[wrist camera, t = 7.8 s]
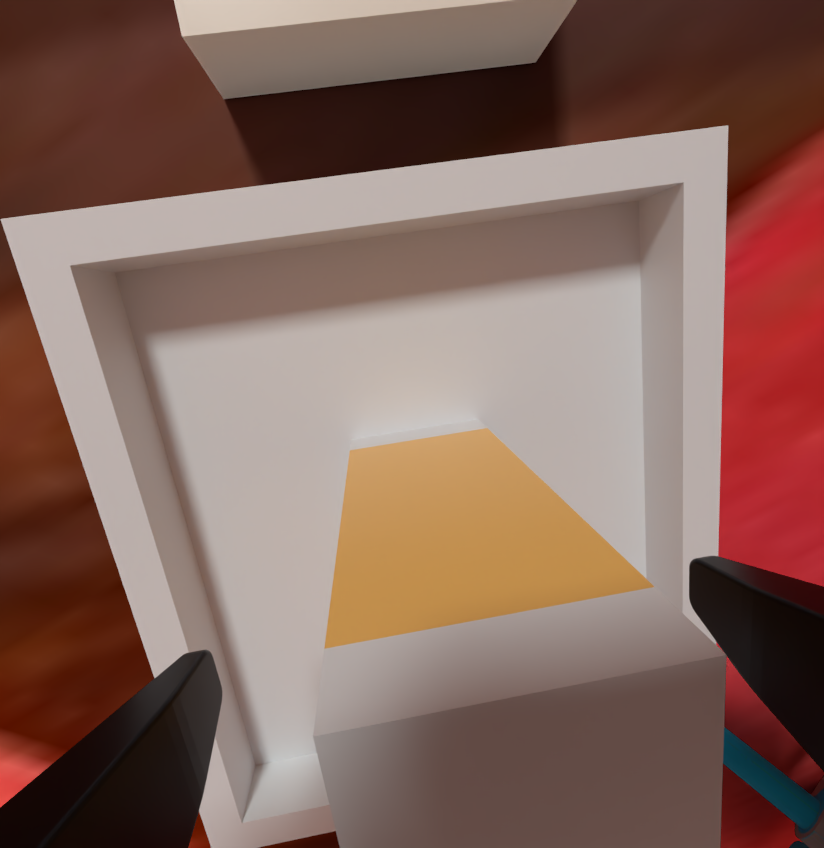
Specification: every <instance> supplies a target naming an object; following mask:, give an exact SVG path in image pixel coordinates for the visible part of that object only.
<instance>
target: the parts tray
mask: <svg viewBox="0 0 824 848" xmlns="http://www.w3.org/2000/svg"><path fill="white" fill-rule="evenodd" d="M727 158H728V125H727V126H720V127H712V128H704V129H696V130H689V131H681V132H673V133H665V134H657V135H650V136H642V137H634V138H626V139H619V140H611V141H603V142H595V143H588V144H580V145H572V146H564V147H556V148H549V149H541V150H533V151H525V152H518V153H510V154H502V155H494V156H487V157H479V158H471V159H463V160H455V161H448V162H440V163H432V164H424V165H417V166H409V167H401V168H393V169H385V170H378V171H370V172H362V173H354V174H347V175H339V176H331V177H323V178H316V179H308V180H300V181H292V182H284V183H277V184H269V185H261V186H253V187H246V188H238V189H230V190H222V191H214V192H207V193H199V194H191V195H183V196H176V197H168V198H160V199H152V200H145V201H137V202H129V203H121V204H113V205H106V206H98V207H90V208H82V209H75V210H67V211H59V212H51V213H43V214H36V215H28V216H20V217H12V218H5V219H1V222H2V225H3V228H4V231H5V234H6V237H7V240H8V243H9V246H10V249H11V252H12V255H13V258H14V261H15V264H16V267H17V270H18V273H19V276H20V278H21V281H22V284H23V287H24V290H25V293H26V296H27V299H28V302H29V305H30V308H31V311H32V314H33V317H34V320H35V323H36V326H37V329H38V332H39V335H40V338H41V341H42V344H43V347H44V350H45V353H46V356H47V359H48V362H49V365H50V368H51V371H52V374H53V377H54V380H55V383H56V386H57V389H58V392H59V395H60V398H61V401H62V404H63V407H64V410H65V413H66V416H67V419H68V422H69V425H70V428H71V431H72V434H73V437H74V440H75V442H76V445H77V448H78V451H79V454H80V457H81V460H82V463H83V466H84V469H85V472H86V475H87V478H88V481H89V484H90V487H91V490H92V493H93V496H94V499H95V502H96V505H97V508H98V511H99V514H100V517H101V520H102V523H103V526H104V529H105V532H106V535H107V538H108V541H109V544H110V547H111V550H112V553H113V556H114V559H115V562H116V565H117V568H118V571H119V574H120V577H121V580H122V583H123V586H124V589H125V592H126V595H127V598H128V601H129V603H130V606H131V609H132V612H133V615H134V618H135V621H136V624H137V627H138V630H139V633H140V636H141V639H142V642H143V645H144V648H145V651H146V654H147V657H148V660H149V663H150V666H151V669H152V672H153V675H154V678H156V677H157V676H158V675H159V674H161V673H162V672H163V671H164V670H165V669H167V668H168V667H169V666H170V665H171V664H173V663H174V662H175V661H176V660H177V659H179V658H180V657H181V656H182V655H183V654H185V653H189V652H194V651H199V650H205V649H206V650H209V651H210V652H211V653H212V655H213V658H214V662H215V665H216V668H217V672H218V675H219V679H220V682H221V686H222V704H221V709H220V714H219V719H218V724H217V729H216V734H215V740H214V745H213V750H212V755H211V760H210V765H209V770H208V775H207V780H206V785H205V789H204V794H203V798H202V801H201V805H200V809H199V812H200V815H201V818H202V821H203V824H204V827H205V830H206V833H207V836H208V839H209V842H210V845H211V848H258V847H262V846H267V845H272V844H277V843H281V842H286V841H291V840H296V839H300V838H305V837H310V836H314V835H319V834H324V833H329V832H333V831H336V830H335V826H334V821H333V817H332V813H331V809H330V805H329V801H328V797H327V792H326V788H325V784H324V780H323V776H322V772H321V768H320V763H319V759H318V755H317V751H316V747H315V743H314V739H313V733H314V725H315V718H316V710H317V702H318V694H319V686H320V679H321V671H322V663H323V655H324V647H325V640H326V632H327V624H328V616H329V608H330V601H331V593H332V585H333V577H334V569H335V562H336V554H337V546H338V538H339V530H340V523H341V515H342V507H343V499H344V491H345V484H346V476H347V468H348V460H349V452H350V445H351V440H352V439H358V438H365V437H371V436H377V435H383V434H389V433H396V432H402V431H408V430H414V429H420V428H427V427H433V426H439V425H445V424H452V423H458V422H464V421H470V420H476V419H478V420H479V421H480V422H481V423H483V424H484V425H485V426H486V427H487V428H488V429H489V430H490V431H491V432H492V433H493V434H494V435H495V436H496V437H497V438H498V439H499V440H500V441H501V442H503V443H504V444H505V445H506V446H507V447H508V448H509V449H510V450H511V451H512V452H513V453H514V454H515V455H516V456H517V457H518V458H519V459H520V460H522V461H523V462H524V463H525V464H526V465H527V466H528V467H529V468H530V469H531V470H532V471H533V472H534V473H535V474H536V475H537V476H538V477H539V478H541V479H542V480H543V481H544V482H545V483H546V484H547V485H548V486H549V487H550V488H551V489H552V490H553V491H554V492H555V493H556V494H557V495H558V496H559V497H561V498H562V499H563V500H564V501H565V502H566V503H567V504H568V505H569V506H570V507H571V508H572V509H573V510H574V511H575V512H576V513H577V514H578V515H580V516H581V517H582V518H583V519H584V520H585V521H586V522H587V523H588V524H589V525H590V526H591V527H592V528H593V529H594V530H595V531H596V532H597V533H598V534H600V535H601V536H602V537H603V538H604V539H605V540H606V541H607V542H608V543H609V544H610V545H611V546H612V547H613V548H614V549H615V550H616V551H617V552H619V553H620V554H621V555H622V556H623V557H624V558H625V559H626V560H627V561H628V562H629V563H630V564H631V565H632V566H633V567H634V568H635V569H636V570H638V571H639V572H640V573H641V574H642V575H643V576H644V577H645V578H646V579H647V580H648V581H649V582H650V583H651V584H652V585H653V586H654V587H655V588H656V589H658V590H659V591H660V592H661V593H662V594H663V595H664V596H665V597H666V598H667V599H668V600H669V601H670V602H671V603H672V604H673V605H674V606H675V607H677V608H678V609H679V610H680V611H681V612H682V613H683V614H684V615H685V616H686V617H687V618H688V619H689V620H690V621H691V622H692V623H693V624H694V625H695V626H697V627H698V628H699V629H700V630H701V631H702V632H703V633H704V634H705V635H706V636H707V637H708V638H709V639H710V640H711V641H712V642H713V643H714V644H716V640H715V639H714V638H713V636H712V635H711V633H710V632H709V631H708V629H707V628H706V627H705V625H704V624H703V622H702V621H701V620H700V618H699V617H698V616H697V614H696V613H695V611H694V610H693V608H692V606H691V603H690V600H689V565H690V562H691V561H692V560H693V559H695V558H700V557H706V556H718V541H719V498H720V456H721V413H722V370H723V328H724V285H725V243H726V200H727Z"/></svg>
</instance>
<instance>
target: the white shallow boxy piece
mask: <svg viewBox="0 0 824 848" xmlns="http://www.w3.org/2000/svg"><path fill="white" fill-rule="evenodd" d="M576 1H577V0H174V3H175V7H176V12H177V16H178V21H179V25H180V30H181V34H182V37H183V39H184V40H185V42H186V43H187V45H188V46H189V48H190V49H191V51H192V52H193V54H194V55H195V57H196V58H197V60H198V61H199V63H200V64H201V66H202V67H203V69H204V70H205V72H206V73H207V75H208V76H209V78H210V79H211V81H212V82H213V84H214V85H215V87H216V88H217V90H218V91H219V93H220V94H221V96H222V97H223V99H230V98H238V97H247V96H255V95H264V94H272V93H281V92H289V91H298V90H307V89H315V88H324V87H332V86H341V85H349V84H358V83H366V82H375V81H383V80H392V79H400V78H409V77H417V76H426V75H434V74H443V73H451V72H460V71H468V70H477V69H486V68H494V67H503V66H511V65H520V64H528V63H536V61H537V60H538V58H539V57H540V55H541V54H542V52H543V51H544V49H545V48H546V46H547V45H548V43H549V42H550V40H551V39H552V37H553V36H554V34H555V33H556V31H557V30H558V28H559V27H560V25H561V24H562V22H563V21H564V19H565V18H566V16H567V15H568V13H569V12H570V10H571V9H572V7H573V6H574V4H575V3H576Z"/></svg>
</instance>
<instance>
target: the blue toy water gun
mask: <svg viewBox="0 0 824 848" xmlns="http://www.w3.org/2000/svg"><path fill="white" fill-rule="evenodd" d="M723 764H724V765H726V766H727V767H728V768H729V769H730V770H732V771H733V772H734V773H735V774H737V775H738V776H739V777H740V778H741V779H743V780H744V781H745V782H746V783H747V784H749V785H750V786H751V787H752V788H753V789H755V790H756V791H757V792H758V793H760V794H761V795H762V796H763V797H764V798H766V799H767V800H768V801H769V802H770V803H772V804H773V805H774V806H775V807H776V808H778V809H779V810H780V811H781V812H783V813H784V814H785V815H786V816H787V817H789V818H790V819H791V820H792V821H793V822H795V835H796V836H797V838H799V839H800V840H801V841H802V842H800V841H796V842H794V843H793V844H792V845H791V846H790V847H789V848H824V776H823V777H822V779H821V780H820V782H819V783H818V785H817V786H816V788H815V789H814V791H813V792H812V794H809V793H808V792H807V791H805V790H804V789H803V788H802V787H800V786H799V785H798V784H797V783H795V782H794V781H793V780H791V779H790V778H789V777H788V776H786V775H785V774H784V773H783V772H781V771H780V770H779V769H777V768H776V767H775V766H774V765H772V764H771V763H770V762H768V761H767V760H766V759H765V758H763V757H762V756H761V755H760V754H758V753H757V752H756V751H754V750H753V749H752V748H751V747H749V746H748V745H747V744H746V743H744V742H743V741H742V740H740V739H739V738H738V737H737V736H735V735H734V734H733V733H732V732H730V731H729V730H728V729H726V728H725V727H724V748H723Z"/></svg>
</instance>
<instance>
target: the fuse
mask: <svg viewBox="0 0 824 848" xmlns="http://www.w3.org/2000/svg"><path fill="white" fill-rule="evenodd" d="M725 685H726V654H725V653H724V652H723V651H722V650H721V649H720V648H719V647H718V646H717V645H716V644H714V643H713V642H712V641H711V640H710V639H709V638H708V637H707V636H706V635H705V634H704V633H703V632H702V631H701V630H700V629H699V628H698V627H697V626H695V625H694V624H693V623H692V622H691V621H690V620H689V619H688V618H687V617H686V616H685V615H684V614H683V613H682V612H681V611H680V610H679V609H678V608H677V607H675V606H674V605H673V604H672V603H671V602H670V601H669V600H668V599H667V598H666V597H665V596H664V595H663V594H662V593H661V592H660V591H659V590H658V589H656V588H655V587H654V586H653V585H652V584H651V583H650V582H649V581H648V580H647V579H646V578H645V577H644V576H643V575H642V574H641V573H640V572H639V571H638V570H636V569H635V568H634V567H633V566H632V565H631V564H630V563H629V562H628V561H627V560H626V559H625V558H624V557H623V556H622V555H621V554H620V553H619V552H617V551H616V550H615V549H614V548H613V547H612V546H611V545H610V544H609V543H608V542H607V541H606V540H605V539H604V538H603V537H602V536H601V535H600V534H598V533H597V532H596V531H595V530H594V529H593V528H592V527H591V526H590V525H589V524H588V523H587V522H586V521H585V520H584V519H583V518H582V517H581V516H580V515H578V514H577V513H576V512H575V511H574V510H573V509H572V508H571V507H570V506H569V505H568V504H567V503H566V502H565V501H564V500H563V499H562V498H561V497H559V496H558V495H557V494H556V493H555V492H554V491H553V490H552V489H551V488H550V487H549V486H548V485H547V484H546V483H545V482H544V481H543V480H542V479H541V478H539V477H538V476H537V475H536V474H535V473H534V472H533V471H532V470H531V469H530V468H529V467H528V466H527V465H526V464H525V463H524V462H523V461H522V460H520V459H519V458H518V457H517V456H516V455H515V454H514V453H513V452H512V451H511V450H510V449H509V448H508V447H507V446H506V445H505V444H504V443H503V442H501V441H500V440H499V439H498V438H497V437H496V436H495V435H494V434H493V433H492V432H491V431H490V430H489V429H488V428H487V427H486V426H485V425H484V424H483V423H481V422H480V421H479V420H478V419H476V420H470V421H464V422H458V423H452V424H445V425H439V426H433V427H427V428H420V429H414V430H408V431H402V432H396V433H389V434H383V435H377V436H371V437H365V438H358V439H352V440H351V445H350V452H349V460H348V468H347V476H346V484H345V491H344V499H343V507H342V515H341V523H340V530H339V538H338V546H337V554H336V562H335V569H334V577H333V585H332V593H331V601H330V608H329V616H328V624H327V632H326V640H325V647H324V655H323V663H322V671H321V679H320V686H319V694H318V702H317V710H316V718H315V725H314V733H313V739H314V743H315V747H316V751H317V755H318V759H319V763H320V768H321V772H322V776H323V780H324V784H325V788H326V792H327V797H328V801H329V805H330V809H331V813H332V817H333V821H334V826H335V830H336V834H337V838H338V842H339V846H340V848H720V842H721V811H722V779H723V748H724V717H725Z"/></svg>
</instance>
